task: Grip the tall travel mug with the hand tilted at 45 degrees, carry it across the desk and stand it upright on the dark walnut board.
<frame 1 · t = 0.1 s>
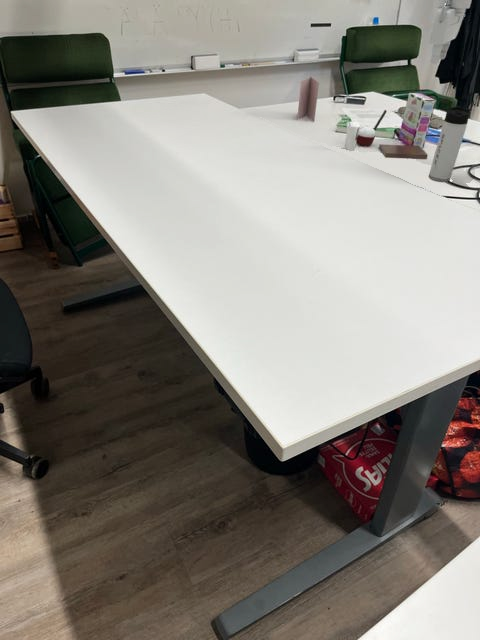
hand: (437, 61, 128), 31 cm above the table, tool pointing down, fingers open, 8 cm apart
candy bar box: (410, 145, 173), on the table
travel mug: (438, 179, 145), on the table
greeting card: (308, 120, 196), on the table
walnut board: (402, 153, 164), on the table
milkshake: (348, 150, 166), on the table
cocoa: (365, 146, 171), on the table
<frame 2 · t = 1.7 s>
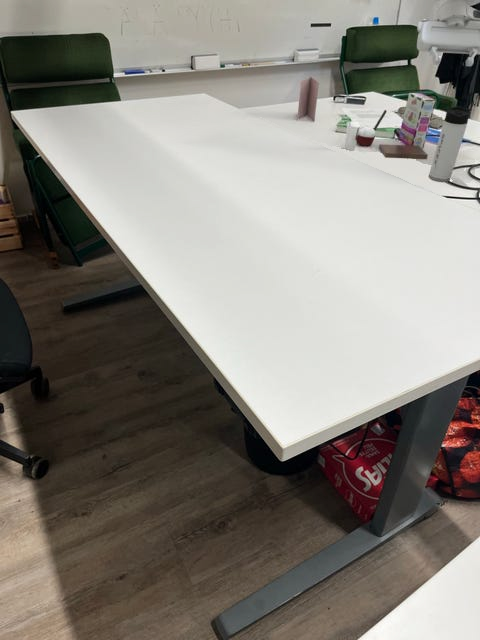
hand: (453, 64, 138), 29 cm above the table, tool tilted 45°, fingers open, 8 cm apart
nothing on the table moved.
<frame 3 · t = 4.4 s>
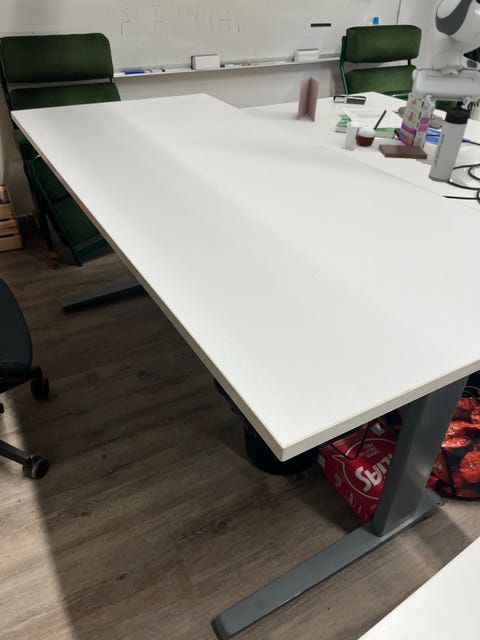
hand: (447, 111, 141), 17 cm above the table, tool tilted 45°, fingers open, 8 cm apart
nothing on the table moved.
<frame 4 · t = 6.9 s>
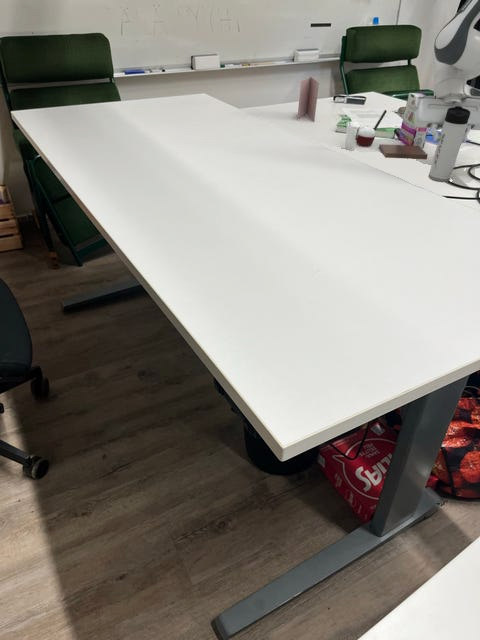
hand: (450, 140, 138), 11 cm above the table, tool tilted 45°, fingers closed on travel mug, 6 cm apart
travel mug: (438, 179, 145), on the table, touching gripper
everything else where it was.
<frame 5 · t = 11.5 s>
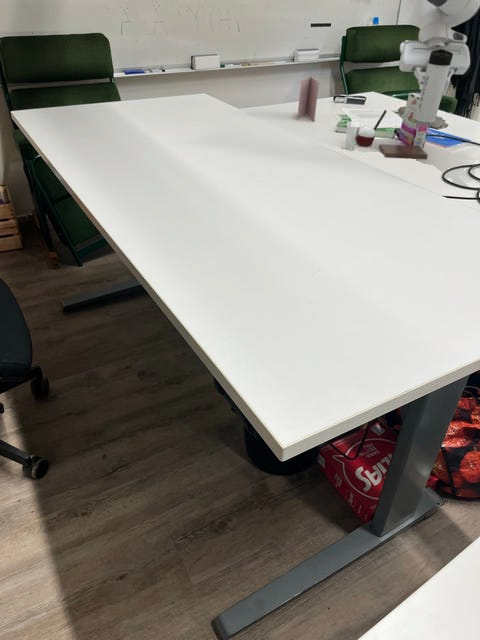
hand: (434, 83, 143), 24 cm above the table, tool tilted 45°, fingers closed on travel mug, 6 cm apart
travel mug: (423, 123, 150), point 12 cm above the table, touching gripper
everything else where it was.
when the fingers open (13 cm above the table, at t = 16.1 s): travel mug stays where it is, resting on walnut board.
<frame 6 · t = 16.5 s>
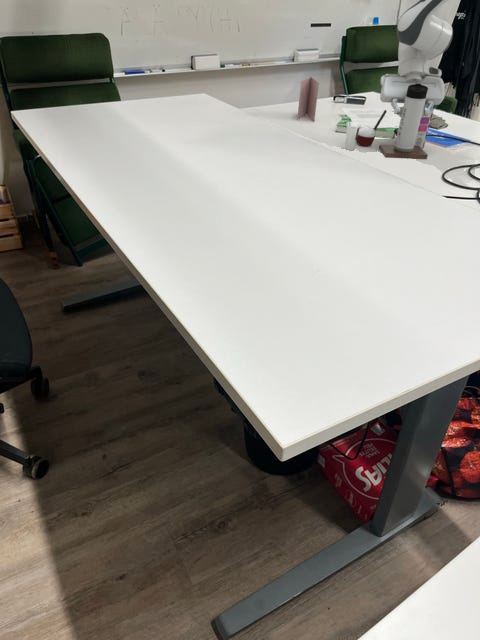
hand: (412, 114, 156), 13 cm above the table, tool tilted 45°, fingers open, 8 cm apart
travel mug: (403, 149, 163), point 1 cm above the table, touching walnut board
everything else where it was.
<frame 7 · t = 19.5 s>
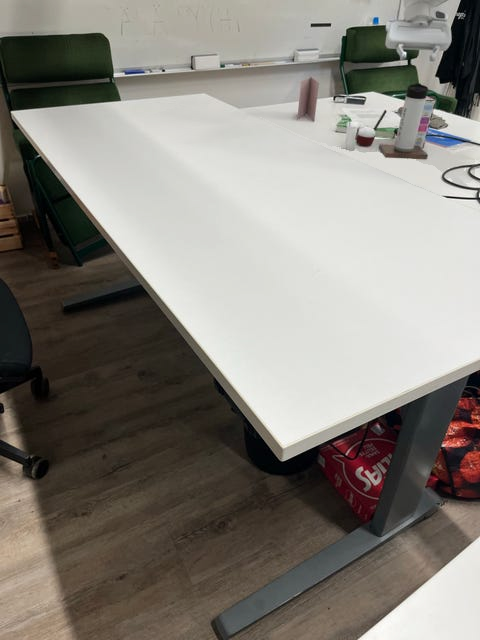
hand: (418, 59, 153), 28 cm above the table, tool tilted 45°, fingers open, 8 cm apart
nothing on the table moved.
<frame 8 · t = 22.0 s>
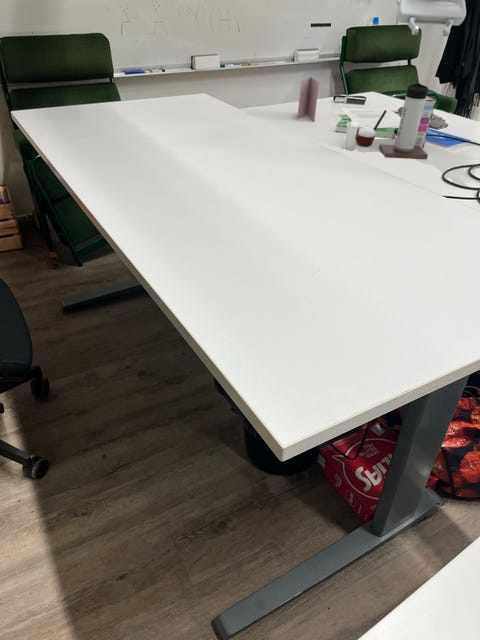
hand: (430, 34, 145), 35 cm above the table, tool tilted 45°, fingers open, 8 cm apart
nothing on the table moved.
at the end: travel mug inside the target area on the walnut board (0.1 cm from its centre), point 1.4 cm above the walnut board's base; travel mug tilted 0° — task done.
